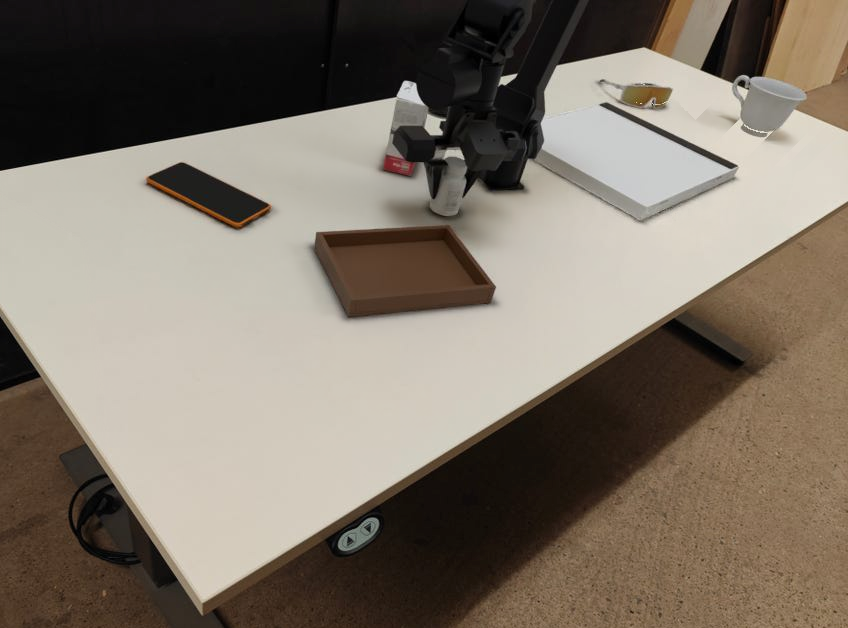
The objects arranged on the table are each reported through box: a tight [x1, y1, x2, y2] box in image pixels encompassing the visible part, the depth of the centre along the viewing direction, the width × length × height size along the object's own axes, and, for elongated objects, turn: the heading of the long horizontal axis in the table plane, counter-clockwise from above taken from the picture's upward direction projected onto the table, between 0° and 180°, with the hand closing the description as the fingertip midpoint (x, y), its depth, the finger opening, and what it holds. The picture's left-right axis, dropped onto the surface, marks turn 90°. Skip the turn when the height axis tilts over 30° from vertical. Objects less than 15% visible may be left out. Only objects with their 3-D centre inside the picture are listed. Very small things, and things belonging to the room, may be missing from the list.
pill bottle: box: [429, 156, 467, 217], centre depth 99 cm, size 4×4×8 cm
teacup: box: [731, 74, 808, 138], centre depth 148 cm, size 12×15×10 cm
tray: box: [313, 224, 497, 318], centre depth 86 cm, size 19×14×2 cm
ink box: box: [382, 80, 430, 177], centre depth 107 cm, size 9×5×12 cm, turn 168°
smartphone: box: [145, 161, 272, 228], centre depth 93 cm, size 8×17×1 cm, turn 58°
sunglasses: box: [599, 78, 674, 110], centre depth 154 cm, size 14×15×5 cm
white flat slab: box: [532, 101, 740, 222], centre depth 126 cm, size 35×2×31 cm
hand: (446, 197), depth 100 cm, fingers closed on pill bottle, 4 cm apart
